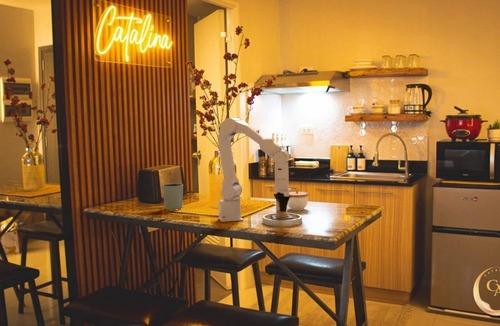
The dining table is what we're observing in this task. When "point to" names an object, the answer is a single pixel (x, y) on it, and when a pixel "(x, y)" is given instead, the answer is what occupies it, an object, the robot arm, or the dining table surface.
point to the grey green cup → (173, 196)
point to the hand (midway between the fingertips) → (282, 210)
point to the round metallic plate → (282, 220)
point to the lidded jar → (297, 200)
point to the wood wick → (278, 212)
